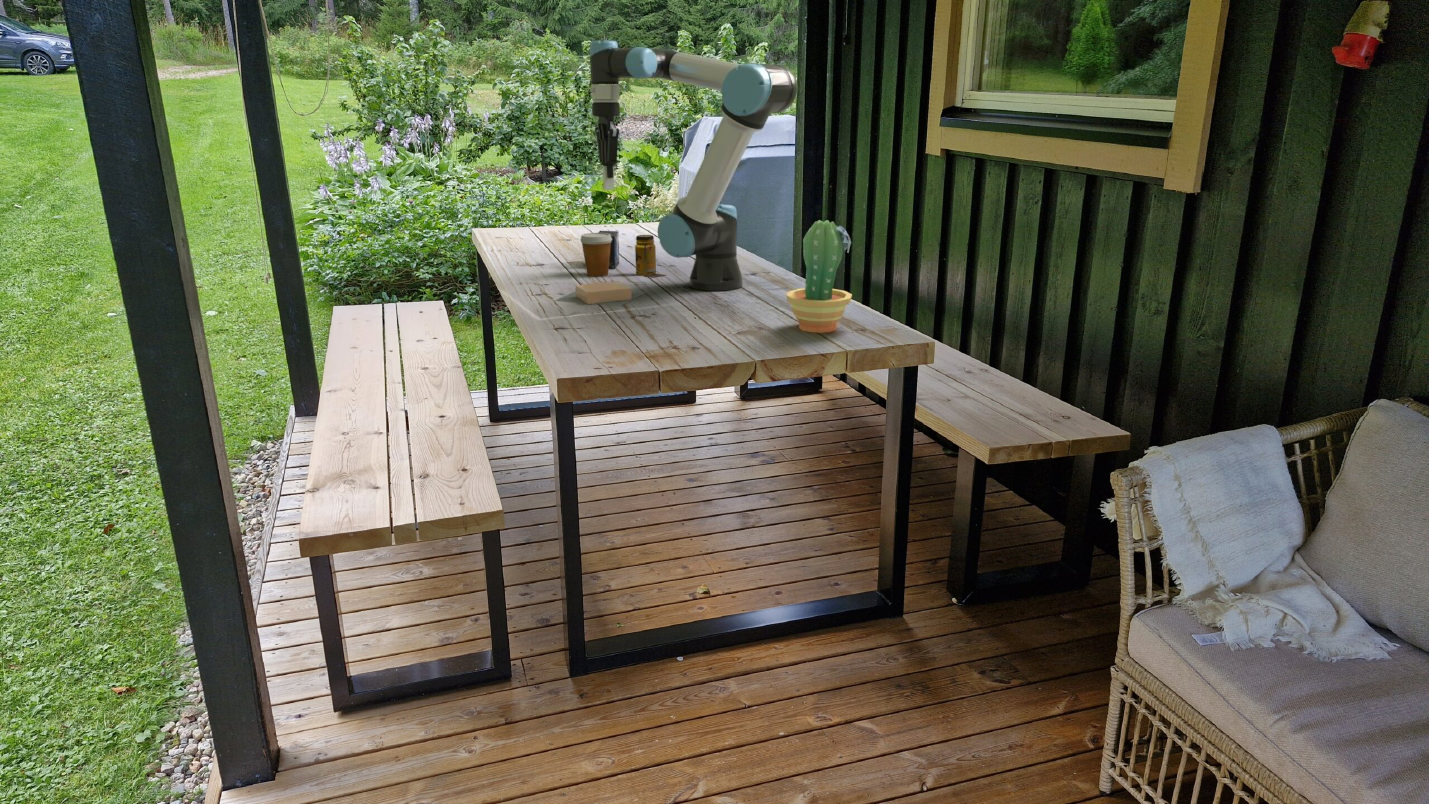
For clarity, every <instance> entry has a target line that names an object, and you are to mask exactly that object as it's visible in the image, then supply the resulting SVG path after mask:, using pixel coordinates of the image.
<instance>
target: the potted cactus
mask: <svg viewBox="0 0 1429 804" xmlns="http://www.w3.org/2000/svg"><path fill="white" fill-rule="evenodd" d="M802 244H803V245H802V247H803V248H802V250H803V251H802V252H803V255H802V256H803V260H804V263H805V268H806V272H805V285H804V286H805V287H804V288H797V289H794V290H793V289H792V290H789V291H788V292H787V293H786V295H785V296H786V300H787V301H786V302H788V303H789V304H790V306H791V310H792V312H793V315H794V317H795V318H796V320H797V321H798V323H799V325H798V329H800V330H801V331H803V332H809V333H819V334H821V333H823V334H824V333H831V332H834V331H837V329H838V324H837V323H838V322H840V320H841V318H842V317H843V314H844V312H845V311H846V308H847V306H848V305H849V304H850V303H851V301H852V297H853V294H852V293H850V292H848V291H846V290H841V289H835V288H834V283H835V279H836V275H837V270H838V267H839V265H840V263H841V261H842V259H843V253H844V251H845V250H847V251H846V252H847V253H848V254H849V252H850V247H851V244H852V241H851V237H850V235H849V234H848V232H847V230H846V229H845V228H844V227H843V226H841V225H836V224H835V221H831V222H830V221H829V220H827V219H826V220H825V221H822V220H820V219H819V220H817V221H814V223H813V224H812V225H811V227H809V229H808V231H807V232H806V233H805V235H804V237H803V239H802Z"/></svg>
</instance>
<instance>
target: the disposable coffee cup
mask: <svg viewBox="0 0 1429 804" xmlns="http://www.w3.org/2000/svg"><path fill="white" fill-rule="evenodd" d="M611 240H612V238H611V235H610V234H608V233H598V232H589V233H588V232H587V233H583V234H581V235H580V239H579V241H580V243H581V245H582V252H583V258H584V263H585V269H586V274H587V275H586V276H588V277H592V278H593V277H594V278H595V277H597V278H599V277H606V276H608V275H609V270H610V269H609V258H610V246H611Z"/></svg>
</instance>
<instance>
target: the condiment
mask: <svg viewBox="0 0 1429 804" xmlns="http://www.w3.org/2000/svg"><path fill="white" fill-rule="evenodd" d="M635 240H636V241H635V243H636V244H635V245H634V246H635V247H634V250H635V254H634V255H635V273H636V274H633V275H634V276H635V275H638V276H642V277H644V278H647V279H650V278H655V277H656V278H657V277H662V276H666V275H667V274H664V273H661V272H660V273H659V272H657V261H656V260H657V258H656V257H657V255H656V244H655V236H654V235H652V234H640V235H636V237H635ZM648 277H649V278H648Z"/></svg>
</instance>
